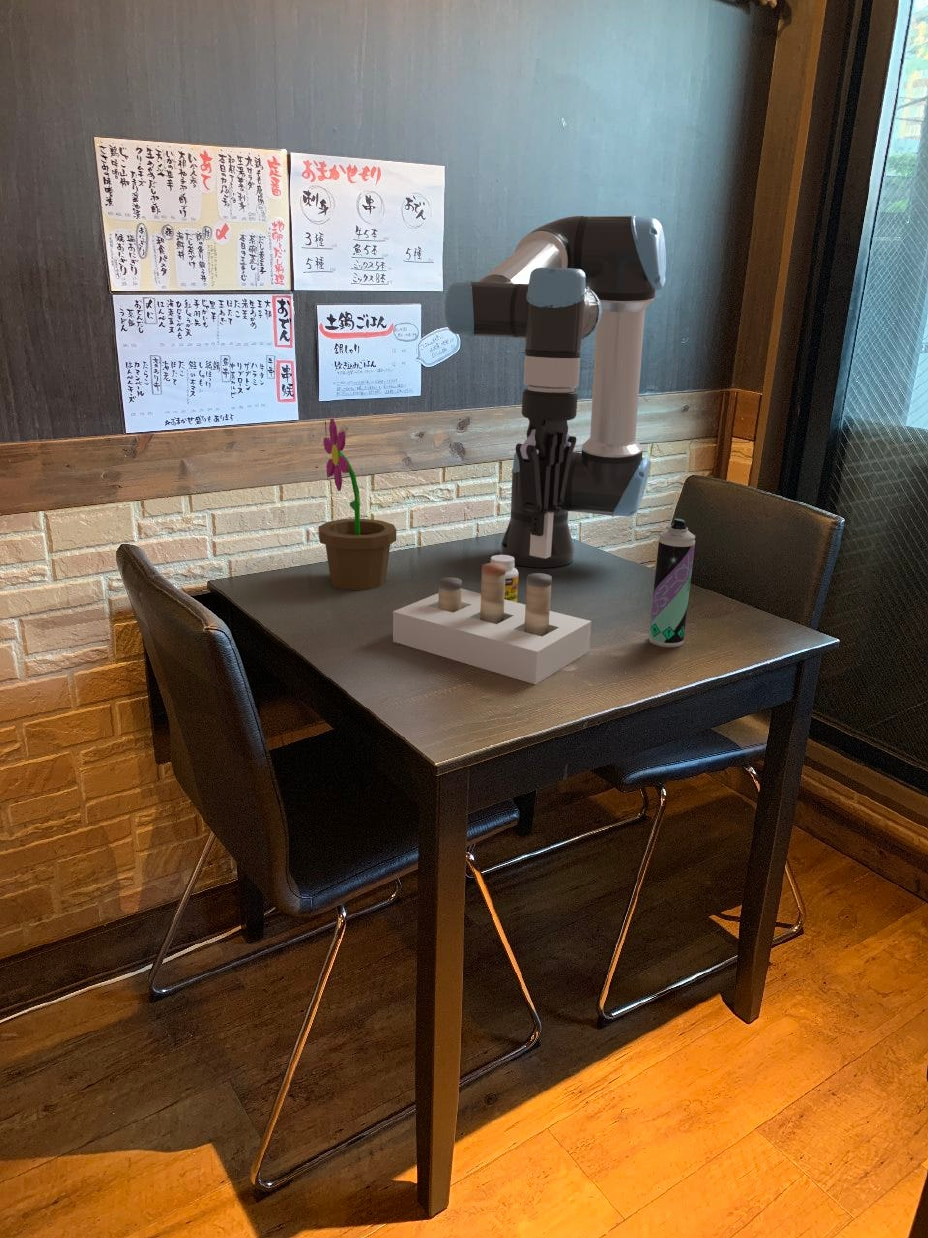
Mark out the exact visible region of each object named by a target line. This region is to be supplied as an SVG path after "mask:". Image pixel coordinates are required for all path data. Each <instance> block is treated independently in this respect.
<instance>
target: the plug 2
mask: <svg viewBox="0 0 928 1238" xmlns="http://www.w3.org/2000/svg"><path fill="white" fill-rule="evenodd" d="M505 573H506V566H505V565H503V564H499V563H491V562H488V563H484V564H482V565H481V578H480V579H481V582H480V585H481V586H480V593H481V606H480V620H482V621H486V622H490V623H493V624H498V623H500V622H502V621H503V617H504V595H505Z"/></svg>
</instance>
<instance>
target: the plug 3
mask: <svg viewBox="0 0 928 1238" xmlns="http://www.w3.org/2000/svg"><path fill="white" fill-rule="evenodd" d="M552 580H553V579H552V575H549V574H546V573H540V572H536V573H535V572H533V573H530V574H528V575H527V576H526V589H525V593H526V594H525V605H526V606H525V624H524V632H527V633H531V634H534V635H538V636H542V637H543V636H544V635H546V634H548V629H549V613H550V611H551V597H552V582H553V581H552Z"/></svg>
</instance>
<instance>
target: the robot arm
mask: <svg viewBox="0 0 928 1238" xmlns="http://www.w3.org/2000/svg"><path fill="white" fill-rule="evenodd" d="M666 252H667V251H666V239H665V234H664V228H663V226H662V224H661V222H660V221H659V220H658V219H657V218H654V217H647V216H638V215H619V216H614V215H613V216H612V215H609V216H605V215H604V216H602V215H601V216H600V215H599V216H596V215H595V216H584V215H574V216H567V217H563V218H560V219H559V218H558V219H556V220H553V221H551V222H548V223H546V224H544V225H541V226H539V227H537V228H535V229H534V230H532V231H531V232H529V233H528V234H526V235H524V237H522V239H521V240H520V241H519V242H518V244H517V245H516V247H515V250H514V252H513V253H512V254H511V255H510V256H509V257H508V258H506V259H505V260H503V261H502V262H501V263H500V264H499V265H498V266H496V267H495V268H494V269H493V270H491V271H490V272H488V274H485V276H484V277H482V278H481V279H480V280H478V281H472V280H469V279H468V280H467V281H455V282H452V283H451V284H450V285H449V287H448V289H447V292H446V295H445V301H444V317H445V319H444V320H445V323H446V325H447V326H446V327H447V328H448V330H449V331H450V332H451V333H452V334H455V335H462V336H469V337H471V338H472V337H487V338H489V337H492V338H493V337H495V338H516V339H517V338H519V339H525V344H524V347H525V348H524V349H525V350H524V363H523V367H524V369H523V385H525V386H527V388H525V389H524V390H523V391H522V400H521V416H522V417H523V418H525V419H528V421H529V422H528V427H527V430H526V440H524V442H523V443H519V442H518V443H517V444H516V445H515V453H514V456H513V461H512V462H513V463H512V469H511V473H512V474H511V476H512V477H511V493H510V498H511V499H510V500H511V501H510V518H509V522H508V525H507V527H506V531H505V533H504V535H503V538H502V541H501V544H500V553H499V555H509V556H512V557H514V564H515V566H516V565H517V566H521V567H527V568H528V567H530V568H542V569H543V568H544V569H545V568H556V567H562V566H567V565H569V564H571V563H573V561H574V559H575V558H574V557H575V547H574V544H573V543H574V542H573V539H572V535H571V531H570V527H569V521H568V520H569V512H573V513H574V512H575V513H582V514H583V513H585V514H592V515H593V514H595V515H603V516H610V517H627V518H628V517H632V516H634V515H636V514H637V512H638V511H639V509H640V505H641V503H642V500H643V497H644V495H645V494H644V493H645V490H646V485H647V481H648V478H649V477H648V476H649V473H650V465H651V460H650V458H648V457H646V456H644V457H643V452H644V451H643V450H644V449H643V445H641V443H640V442H638V440H637V438H636V434H637V423H638V421H637V420H638V410H639V409H638V407H639V398H640V397H639V396H640V395H639V394H640V383H641V381H640V380H641V367H642V355H643V354H642V353H643V352H642V351H643V344H644V340H643V339H644V329H645V328H644V327H645V315H646V312H645V311H646V309H647V307H648V306H650V305H651V303H652V302H654V301H655V297H656V291H659V290H661V289H663V287H664V286H665V283H666V270H667V253H666ZM594 331H595V340H594V341H595V344H594V358H593V359H594V360H593V361H594V362H593V377H592V378H593V380H592V395H591V397H592V400H591V416H590V431H589V432H590V433H589V434H590V435H589V438H588V439H587V440H586V441H584V442H583V444H582V446H581V452H577V451H574V450H575V447H576V443H577V440H578V439H577V437H576V436H573V435H570V434H569V425H568V421H571V420H572V421H573V420H574V419H575V418H576V417H577V413H578V410H577V409H578V398H579V397H578V396H579V394H578V393H577V391H575V389H576V388H578V387H579V386H580V385H579V383H580V371H581V370H580V367H581V366H580V365H581V353H582V352H581V349H582V340H584V339H585V338H587V337H589V336H590V335H592V333H594Z"/></svg>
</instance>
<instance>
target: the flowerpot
mask: <svg viewBox="0 0 928 1238" xmlns="http://www.w3.org/2000/svg"><path fill="white" fill-rule="evenodd" d="M328 427H329V428H328V431H329V432H328V433H329V437H323V439H322V441H323V442H322V443H323V447H324V451H325V452H326V453H327V454H328V455H330V454H331V458H329V459H328V461H327V462H326V468H325V469H326V476H327V478H330V477H334V478H333V479H334V485H335V487H336V488H337V492H341V491H342V486H343V478H342V477H343V475H342V473H343V474H348V475H349V476H350V480H351V481H350V482H351V486H352V492H353V496H354V500H352V501H350V502H349V507H350V508H351V509H352V510H353V511H354V518H343V519H342V518H341V519H337V520H332V521H327V522H325V523H323V524H320V525H318V539H319V543H320V544H323V545H324V546H325V551H326V558H327V564H328V570H329V571H328V572H329V577H330V578H329V579H330V582H331V583H330V584H331V585H332V586H334V587H336V588H338V589H343V590H349V591H350V590H351V591H355V590H356V591H364V590H367V591H368V590H372V589H376V588H379V587H382V586H383V585H385V583H386V582H387V581H386V579H387V572H388V565H389V563H388V562H389V557H390V549H391V545H392V544H393V543H395V542H396V541H397V527H396V526H395V525H394V524H392V523H390V522H387V521H384V520H380V519H370V518H361V512H360V511H361V508H360V506H361V501H360V490H359V489H360V488H359V485H358V481H357V477H356V473H355V471H354V469H353V468H352V465H351V463H350V461H349V460H348V457H346V455H345V454H344V453H343V451H344V448H345V446H346V433H345V431H344V430H343V431H341V432H338V430H337V429H338V428H337V424H336V423H335V419H334V418H330V420H329V426H328Z"/></svg>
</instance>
